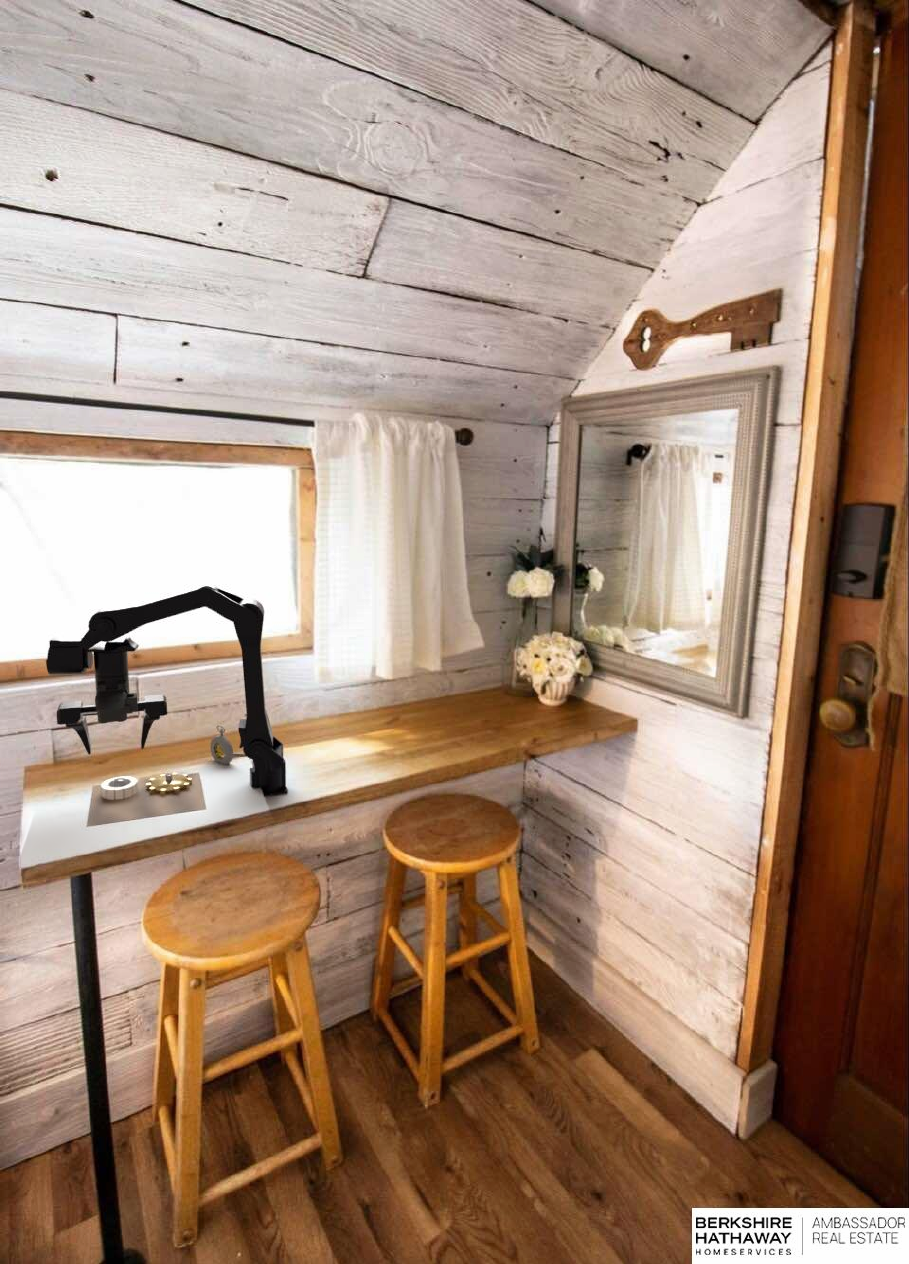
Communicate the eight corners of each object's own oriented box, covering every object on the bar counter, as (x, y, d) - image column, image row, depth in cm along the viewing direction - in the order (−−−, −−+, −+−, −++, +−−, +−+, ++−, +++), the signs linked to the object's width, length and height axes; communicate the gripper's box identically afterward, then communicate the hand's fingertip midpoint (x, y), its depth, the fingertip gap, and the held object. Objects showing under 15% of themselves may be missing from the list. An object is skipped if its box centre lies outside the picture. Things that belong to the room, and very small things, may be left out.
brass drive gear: (190, 775, 143) (190, 764, 143) (193, 791, 136) (192, 780, 136) (146, 780, 140) (145, 770, 139) (146, 797, 132) (145, 786, 132)
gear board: (199, 779, 145) (199, 772, 145) (206, 816, 129) (206, 808, 129) (93, 792, 137) (93, 785, 137) (87, 834, 121) (86, 826, 121)
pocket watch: (253, 757, 158) (252, 716, 156) (243, 772, 149) (242, 729, 147) (217, 757, 157) (216, 715, 155) (205, 771, 149) (204, 728, 147)
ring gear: (138, 783, 138) (137, 774, 138) (137, 796, 133) (137, 787, 132) (102, 788, 136) (102, 778, 135) (100, 801, 130) (100, 791, 130)
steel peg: (125, 789, 136) (125, 777, 135) (125, 793, 134) (124, 781, 133) (114, 791, 135) (113, 778, 134) (114, 795, 133) (113, 782, 132)
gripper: (50, 688, 118) (56, 773, 121) (166, 681, 126) (169, 760, 129) (57, 672, 128) (63, 750, 131) (164, 666, 136) (167, 740, 139)
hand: (116, 750), depth 132 cm, fingers open, 9 cm apart
